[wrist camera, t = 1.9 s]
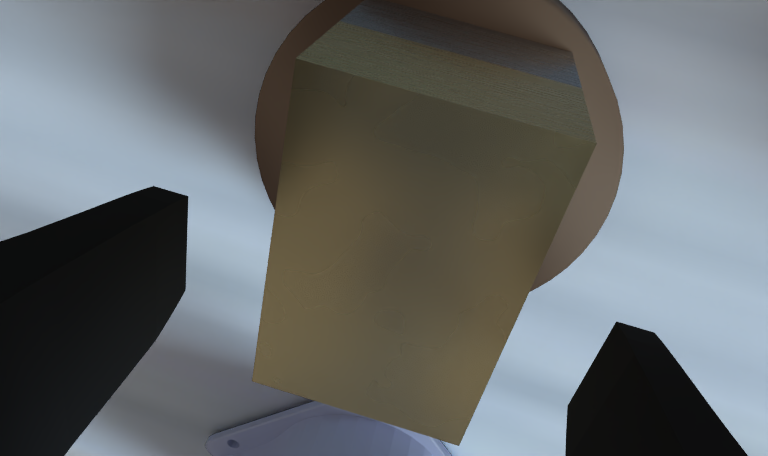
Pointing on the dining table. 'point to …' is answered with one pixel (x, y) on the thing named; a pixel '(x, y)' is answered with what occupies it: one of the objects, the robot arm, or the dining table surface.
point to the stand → (500, 13)
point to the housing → (414, 211)
